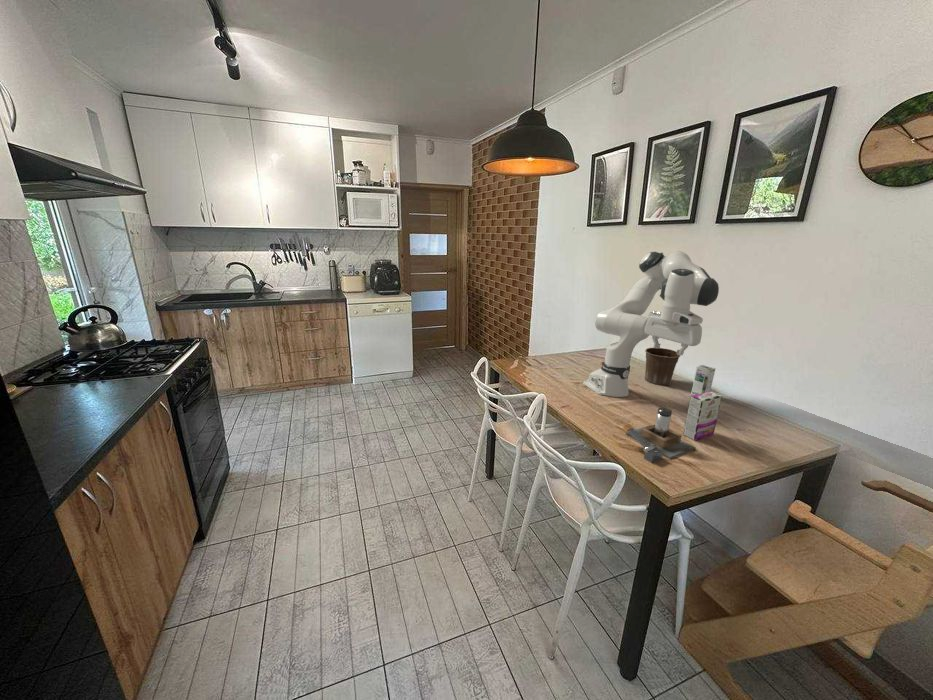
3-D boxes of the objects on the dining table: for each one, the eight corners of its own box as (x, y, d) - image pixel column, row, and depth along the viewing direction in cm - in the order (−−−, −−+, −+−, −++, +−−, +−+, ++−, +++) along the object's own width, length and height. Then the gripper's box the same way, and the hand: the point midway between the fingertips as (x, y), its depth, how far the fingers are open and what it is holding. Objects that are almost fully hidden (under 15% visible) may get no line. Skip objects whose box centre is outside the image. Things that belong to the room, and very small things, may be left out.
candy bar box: (701, 429, 143) (710, 390, 139) (713, 435, 139) (723, 395, 134) (681, 434, 139) (690, 395, 134) (694, 441, 135) (703, 400, 130)
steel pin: (650, 437, 135) (655, 408, 131) (658, 435, 136) (663, 406, 133) (660, 443, 131) (666, 414, 127) (668, 441, 133) (674, 411, 129)
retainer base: (641, 457, 124) (643, 447, 123) (651, 453, 126) (653, 443, 125) (651, 463, 121) (653, 453, 120) (661, 459, 123) (663, 449, 122)
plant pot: (674, 389, 181) (680, 358, 177) (639, 383, 189) (644, 353, 184) (675, 379, 195) (680, 350, 190) (642, 373, 203) (646, 345, 198)
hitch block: (625, 434, 139) (627, 424, 137) (650, 426, 145) (652, 417, 143) (669, 459, 123) (671, 448, 122) (695, 449, 129) (697, 439, 128)
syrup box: (690, 394, 176) (696, 366, 172) (697, 392, 179) (703, 364, 174) (702, 398, 171) (708, 369, 167) (709, 396, 174) (716, 367, 170)
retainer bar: (644, 448, 124) (622, 427, 131) (649, 446, 125) (628, 426, 133) (645, 445, 124) (624, 425, 131) (650, 444, 125) (629, 423, 132)
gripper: (643, 310, 140) (638, 345, 144) (696, 321, 122) (688, 360, 126) (655, 309, 143) (649, 343, 147) (707, 319, 125) (699, 358, 129)
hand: (667, 351), depth 136 cm, fingers open, 8 cm apart
